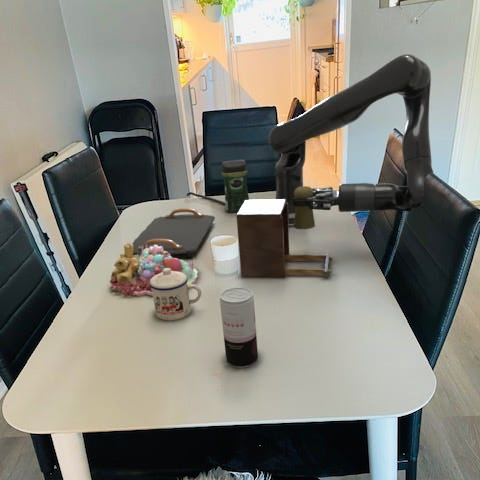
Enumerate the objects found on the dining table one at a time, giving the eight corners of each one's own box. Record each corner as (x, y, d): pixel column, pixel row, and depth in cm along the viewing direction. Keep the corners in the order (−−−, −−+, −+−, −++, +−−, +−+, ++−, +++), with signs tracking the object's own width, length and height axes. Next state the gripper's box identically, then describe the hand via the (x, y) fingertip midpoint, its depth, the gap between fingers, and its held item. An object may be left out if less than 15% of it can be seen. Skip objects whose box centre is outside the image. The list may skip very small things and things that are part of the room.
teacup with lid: (151, 322, 119) (143, 278, 113) (159, 304, 127) (151, 262, 121) (201, 320, 118) (195, 275, 112) (205, 302, 126) (200, 260, 120)
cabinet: (289, 259, 146) (287, 199, 137) (284, 278, 135) (282, 213, 126) (249, 259, 148) (245, 199, 140) (241, 277, 137) (236, 214, 129)
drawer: (332, 258, 143) (332, 253, 142) (331, 277, 132) (331, 271, 131) (284, 258, 146) (284, 253, 145) (279, 276, 135) (278, 271, 134)
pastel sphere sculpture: (100, 300, 132) (92, 268, 127) (121, 265, 152) (115, 236, 148) (193, 295, 130) (189, 262, 126) (202, 260, 151) (198, 231, 146)
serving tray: (194, 262, 149) (192, 243, 146) (122, 263, 153) (118, 244, 150) (218, 220, 183) (216, 204, 180) (158, 222, 186) (155, 206, 183)
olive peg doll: (314, 221, 144) (314, 183, 138) (315, 228, 138) (314, 189, 133) (293, 222, 144) (292, 184, 139) (293, 229, 139) (292, 190, 134)
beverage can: (235, 348, 106) (229, 285, 99) (263, 354, 103) (259, 289, 96) (220, 364, 101) (212, 299, 94) (249, 371, 98) (243, 304, 91)
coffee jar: (248, 205, 197) (245, 157, 188) (251, 211, 190) (247, 161, 181) (224, 207, 196) (219, 159, 187) (226, 213, 189) (221, 164, 180)
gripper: (357, 176, 139) (296, 178, 142) (357, 191, 127) (290, 192, 130) (356, 203, 142) (297, 204, 146) (356, 219, 130) (291, 220, 134)
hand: (294, 199), depth 138 cm, fingers closed on olive peg doll, 5 cm apart
